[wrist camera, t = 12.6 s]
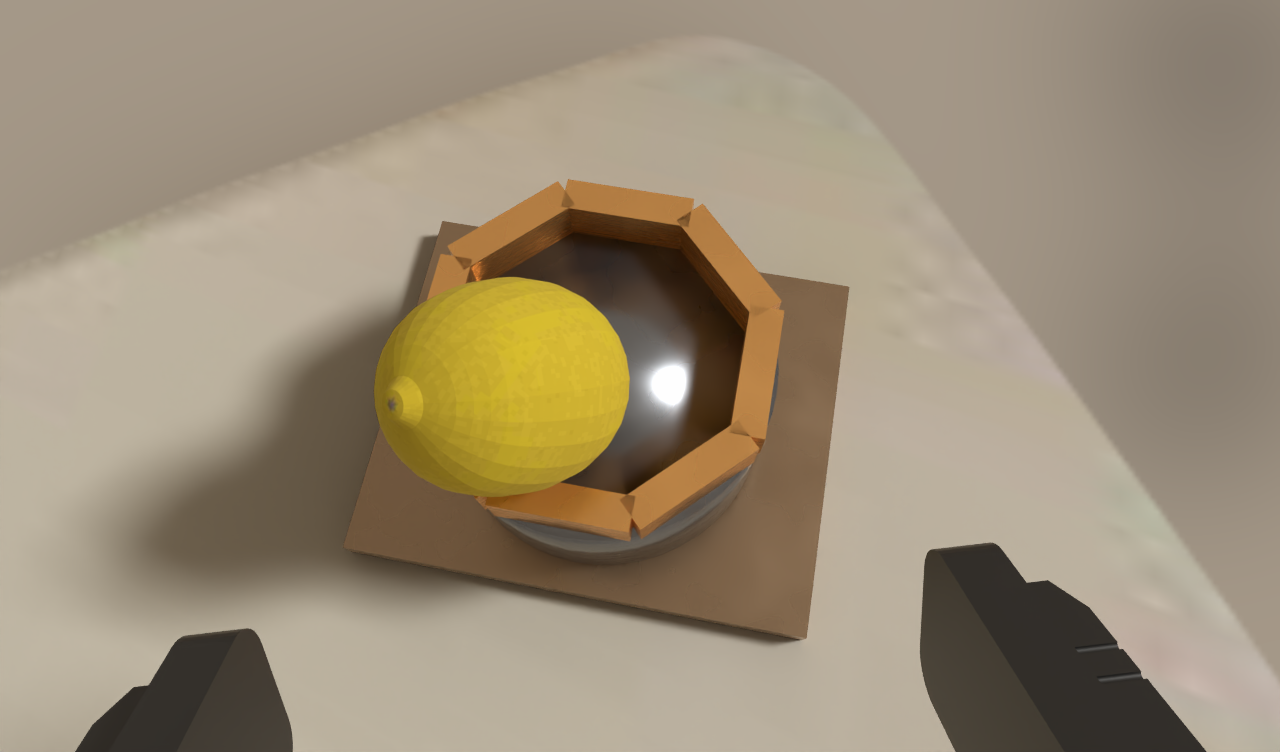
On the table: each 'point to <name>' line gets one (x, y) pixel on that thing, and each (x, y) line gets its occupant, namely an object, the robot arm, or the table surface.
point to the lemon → (501, 387)
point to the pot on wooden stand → (648, 421)
